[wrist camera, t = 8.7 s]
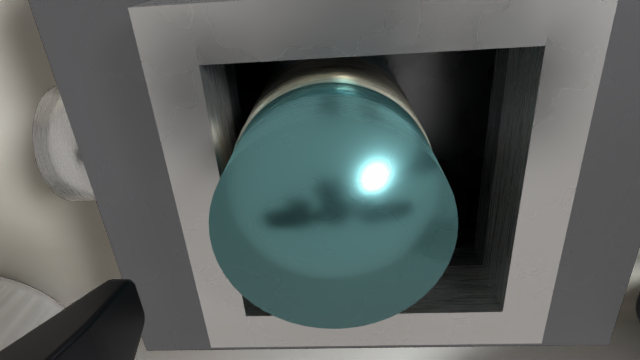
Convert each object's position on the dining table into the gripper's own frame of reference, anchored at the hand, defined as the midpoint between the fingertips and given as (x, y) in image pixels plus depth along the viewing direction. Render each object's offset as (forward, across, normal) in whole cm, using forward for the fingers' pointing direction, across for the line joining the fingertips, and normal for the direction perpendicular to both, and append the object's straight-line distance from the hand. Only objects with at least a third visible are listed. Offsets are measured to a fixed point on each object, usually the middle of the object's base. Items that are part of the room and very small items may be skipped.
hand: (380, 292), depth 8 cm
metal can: (+10, +1, 0) cm, 10 cm away
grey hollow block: (+10, +1, 0) cm, 11 cm away
